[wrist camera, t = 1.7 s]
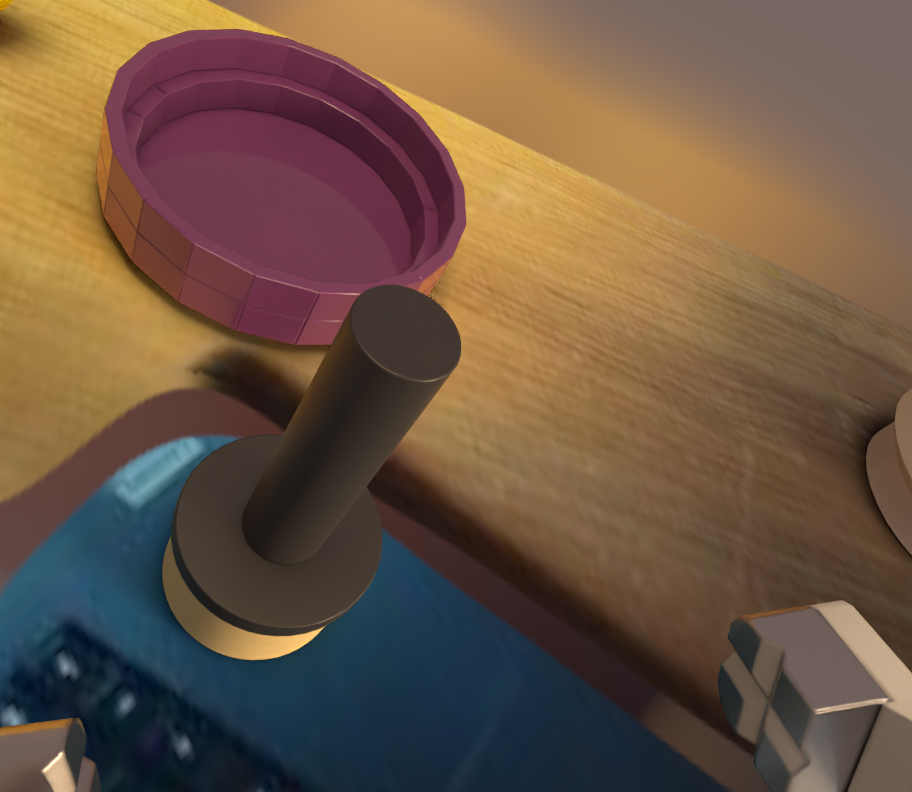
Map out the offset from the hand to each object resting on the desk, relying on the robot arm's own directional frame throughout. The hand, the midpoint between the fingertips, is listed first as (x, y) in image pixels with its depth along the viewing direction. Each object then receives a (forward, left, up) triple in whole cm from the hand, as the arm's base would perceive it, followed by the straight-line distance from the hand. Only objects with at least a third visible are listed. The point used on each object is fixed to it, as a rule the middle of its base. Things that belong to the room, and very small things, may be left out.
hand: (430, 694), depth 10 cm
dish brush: (-2, +8, -17) cm, 19 cm away
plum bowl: (-8, +24, -17) cm, 31 cm away
